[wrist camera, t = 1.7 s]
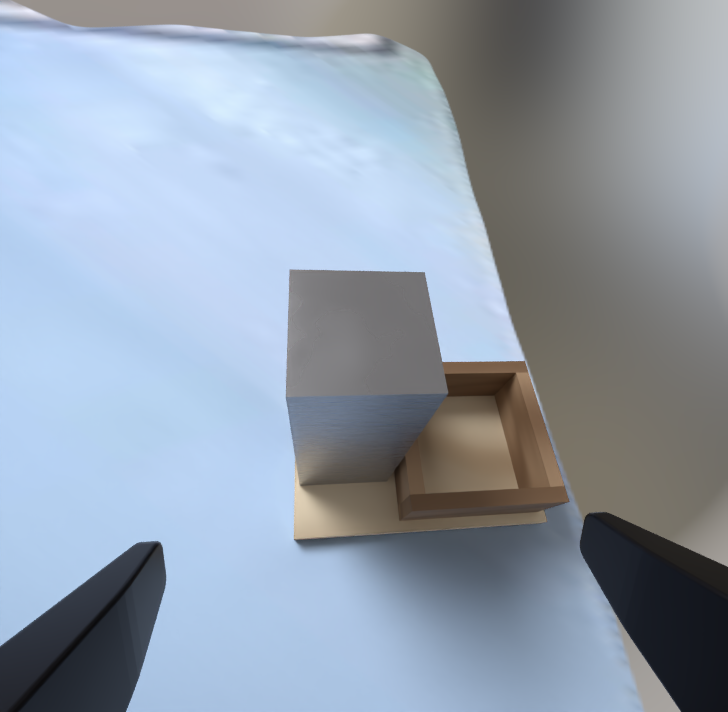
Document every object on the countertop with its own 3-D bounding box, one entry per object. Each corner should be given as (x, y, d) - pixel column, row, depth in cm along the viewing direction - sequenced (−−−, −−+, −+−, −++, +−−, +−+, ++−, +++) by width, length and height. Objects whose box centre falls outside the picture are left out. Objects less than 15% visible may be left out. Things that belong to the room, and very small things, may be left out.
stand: (541, 523, 21) (581, 512, 18) (294, 540, 19) (290, 531, 16) (502, 382, 25) (528, 353, 22) (296, 385, 23) (294, 355, 20)
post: (386, 481, 20) (448, 393, 11) (299, 485, 20) (286, 396, 10) (378, 402, 23) (424, 272, 13) (300, 403, 22) (289, 269, 13)
